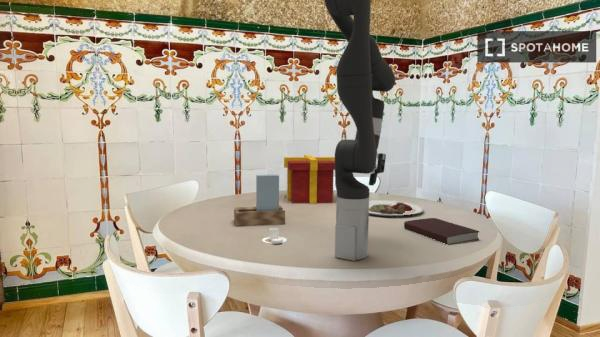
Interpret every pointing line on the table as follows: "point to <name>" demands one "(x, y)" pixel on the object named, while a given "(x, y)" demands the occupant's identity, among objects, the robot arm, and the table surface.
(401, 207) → the plated food
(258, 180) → the cover panel
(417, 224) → the book
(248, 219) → the slot box
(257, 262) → the table surface
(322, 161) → the gift box
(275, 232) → the teacup and saucer
